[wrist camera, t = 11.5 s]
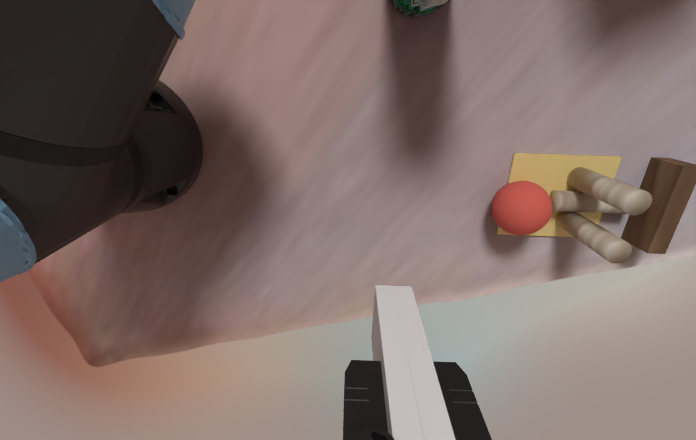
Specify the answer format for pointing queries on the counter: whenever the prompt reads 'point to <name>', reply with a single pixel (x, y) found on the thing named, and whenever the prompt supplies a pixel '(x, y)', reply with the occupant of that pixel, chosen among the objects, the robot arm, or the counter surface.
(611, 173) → the plate
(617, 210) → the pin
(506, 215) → the ball
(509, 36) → the counter surface
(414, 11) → the can
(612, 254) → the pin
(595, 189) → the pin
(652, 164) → the back rail
